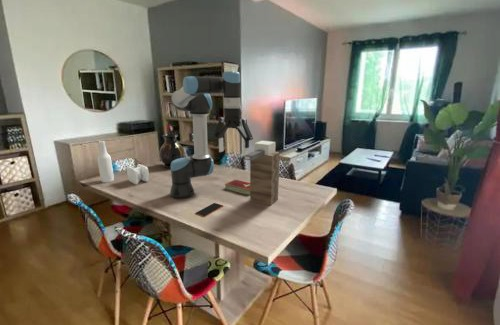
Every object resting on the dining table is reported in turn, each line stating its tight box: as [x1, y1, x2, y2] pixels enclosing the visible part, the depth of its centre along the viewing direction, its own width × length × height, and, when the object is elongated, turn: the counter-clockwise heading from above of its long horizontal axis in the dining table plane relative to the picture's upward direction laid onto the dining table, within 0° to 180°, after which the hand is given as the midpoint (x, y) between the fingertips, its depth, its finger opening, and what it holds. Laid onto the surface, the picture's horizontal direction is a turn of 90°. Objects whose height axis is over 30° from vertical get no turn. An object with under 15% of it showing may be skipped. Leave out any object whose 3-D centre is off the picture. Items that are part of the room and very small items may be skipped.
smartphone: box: [194, 202, 224, 218], centre depth 149 cm, size 8×17×1 cm, turn 147°
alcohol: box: [96, 140, 115, 184], centre depth 192 cm, size 9×9×30 cm
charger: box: [244, 140, 276, 161], centre depth 147 cm, size 25×9×6 cm, turn 150°
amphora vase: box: [158, 133, 185, 169], centre depth 230 cm, size 22×22×28 cm
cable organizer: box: [126, 163, 150, 186], centre depth 194 cm, size 15×11×12 cm
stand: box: [249, 151, 280, 206], centre depth 158 cm, size 10×14×30 cm
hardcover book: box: [224, 179, 250, 196], centre depth 179 cm, size 12×21×4 cm, turn 55°
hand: (233, 153), depth 125 cm, fingers open, 13 cm apart
